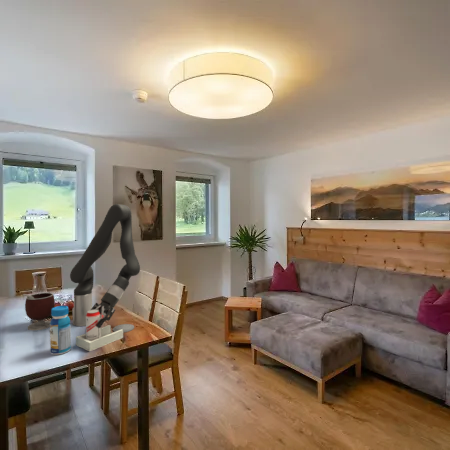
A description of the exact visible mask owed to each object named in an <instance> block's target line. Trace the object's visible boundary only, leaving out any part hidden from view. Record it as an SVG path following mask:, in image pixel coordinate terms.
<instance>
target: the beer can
mask: <svg viewBox="0 0 450 450" xmlns="http://www.w3.org/2000/svg"><path fill="white" fill-rule="evenodd" d="M100 319H101V314H100V313H99V310H97V309H93V310H89V311H87V314H86V326H85V334H86V340H89V341H93V340H95V339H98V338H100V337H101V330H100V328H101V327H100V328H98V327H96V325H97V323H98V322H99V320H100Z"/></svg>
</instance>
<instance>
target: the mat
mask: <svg viewBox="0 0 450 450" xmlns="http://www.w3.org/2000/svg"><path fill="white" fill-rule="evenodd" d="M121 329H122V330H123V334H124V333H129V332H131V331H133V330H134V329H135V325H134V324H130V323H123V324H118V325H116V326H114V327H112V331H113V332H116V331H118V330H121Z"/></svg>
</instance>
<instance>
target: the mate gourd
mask: <svg viewBox="0 0 450 450" xmlns="http://www.w3.org/2000/svg"><path fill="white" fill-rule="evenodd" d="M23 296H24V297H25V302H24V309H25V314H26V316H27V317H28V318H29V319H30V320H32V321H33V320H34V321H36V322H33V323H31V324H29V325H28V326H27V330H28V331H33V332H34V331H42V330H46V329H50V327H51V326H50V321H51V320H45V319H47V318H50V317H52V315H51V310H52V308H54V307H56V306H55V305H56V304H55V297H54V293H53V292H38V293H33V294H25V293H23V294H22V297H23Z"/></svg>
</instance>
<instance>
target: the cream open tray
mask: <svg viewBox="0 0 450 450" xmlns="http://www.w3.org/2000/svg"><path fill="white" fill-rule="evenodd" d="M111 328H112V327H111V324H108V325H105V326H103V327H102V326H101V327H100V330H101V337H100V338H98V339H95V340H93V341H89V340H86V333H83V334H81V335H78V336H75V346H77V347H79V348H81V349H82V350H86V351H88V352H92V351H95V350H97V349H100V348H102V347H104V346H106V345H108V344H111V343H113V342H117V341H119V340H121V339H123V338H124V333H123V330H122V329H121V330H118V331H116V332H114V331H113V332H112V330H111Z"/></svg>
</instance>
